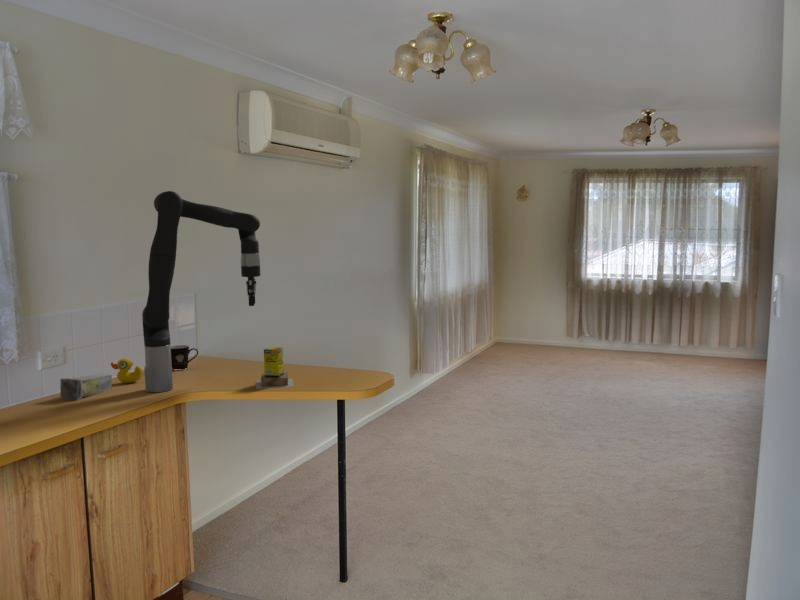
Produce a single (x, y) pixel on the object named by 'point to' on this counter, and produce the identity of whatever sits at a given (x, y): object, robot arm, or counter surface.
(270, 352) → the supplement box
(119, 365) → the duckling
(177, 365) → the coffee mug
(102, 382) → the block
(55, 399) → the counter surface
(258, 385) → the pad
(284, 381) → the base block
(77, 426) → the counter surface
